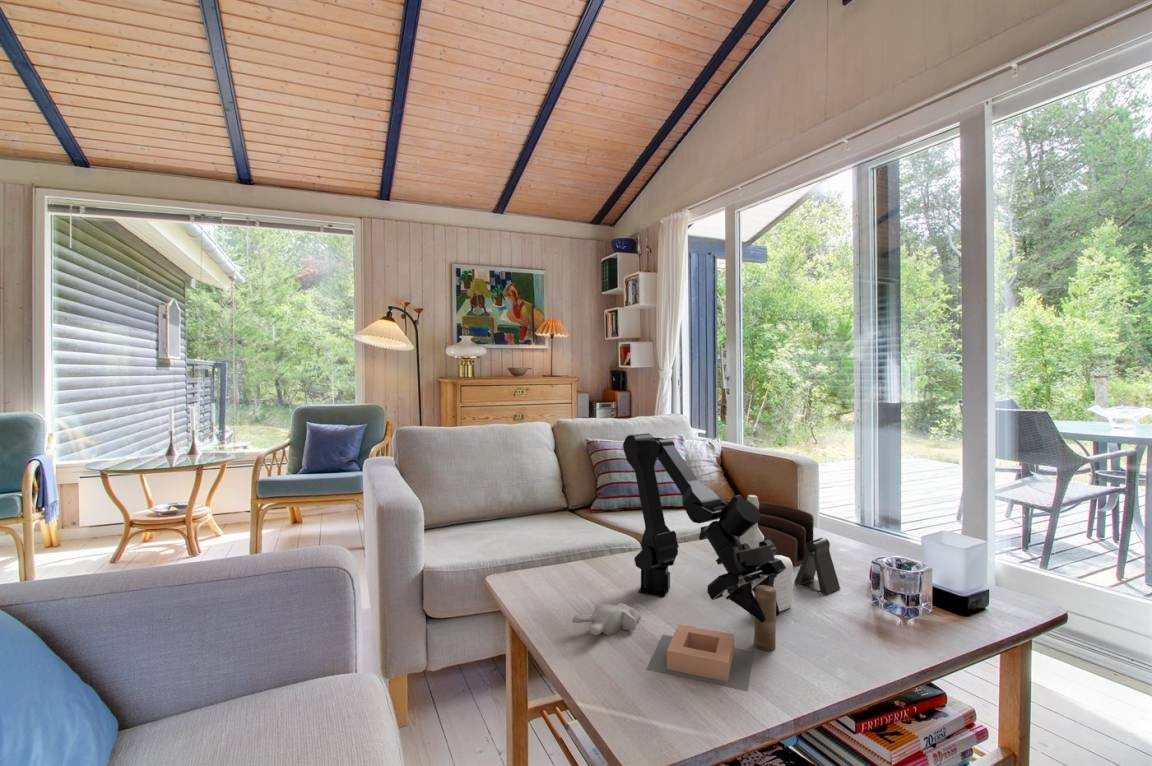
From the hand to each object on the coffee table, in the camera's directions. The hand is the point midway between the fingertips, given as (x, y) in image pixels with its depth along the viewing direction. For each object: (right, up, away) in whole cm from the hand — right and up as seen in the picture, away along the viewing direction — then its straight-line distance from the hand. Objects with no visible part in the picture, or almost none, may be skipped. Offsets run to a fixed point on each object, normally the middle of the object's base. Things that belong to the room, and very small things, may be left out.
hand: (771, 618), depth 110 cm
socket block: (-15, -6, -4) cm, 16 cm away
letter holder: (+21, -5, +56) cm, 60 cm away
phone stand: (+23, -6, +32) cm, 40 cm away
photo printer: (+7, -6, +19) cm, 21 cm away
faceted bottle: (+8, -5, +37) cm, 38 cm away
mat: (-15, -7, -4) cm, 17 cm away
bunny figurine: (-31, -6, +9) cm, 33 cm away
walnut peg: (-1, -7, +1) cm, 7 cm away
